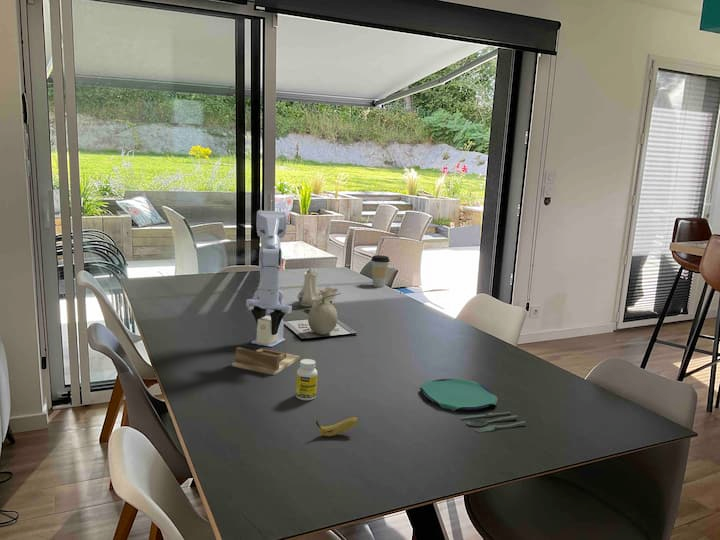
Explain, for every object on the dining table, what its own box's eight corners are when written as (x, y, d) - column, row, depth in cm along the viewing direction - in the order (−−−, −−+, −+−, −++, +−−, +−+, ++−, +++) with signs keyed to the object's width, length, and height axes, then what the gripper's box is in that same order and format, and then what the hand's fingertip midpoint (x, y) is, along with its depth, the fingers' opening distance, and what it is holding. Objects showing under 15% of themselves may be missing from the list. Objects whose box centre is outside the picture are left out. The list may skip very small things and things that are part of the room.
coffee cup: (367, 283, 302) (369, 254, 299) (384, 283, 305) (386, 255, 302) (372, 287, 293) (374, 258, 290) (390, 287, 296) (392, 258, 293)
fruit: (300, 334, 208) (302, 293, 205) (317, 327, 218) (319, 288, 215) (325, 340, 203) (327, 298, 201) (341, 333, 214) (344, 292, 211)
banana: (355, 430, 137) (356, 414, 136) (358, 435, 135) (359, 419, 134) (313, 434, 134) (314, 418, 133) (316, 439, 132) (317, 423, 131)
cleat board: (260, 351, 188) (261, 336, 187) (299, 359, 183) (300, 343, 182) (232, 366, 173) (232, 350, 172) (273, 375, 168) (274, 358, 167)
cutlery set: (470, 382, 173) (471, 374, 173) (533, 428, 146) (534, 419, 146) (409, 388, 166) (409, 380, 166) (463, 438, 139) (464, 429, 138)
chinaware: (332, 318, 239) (338, 278, 236) (291, 311, 238) (297, 271, 235) (336, 302, 266) (342, 266, 263) (299, 295, 266) (305, 260, 263)
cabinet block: (265, 337, 180) (266, 315, 179) (277, 339, 178) (278, 317, 177) (255, 342, 175) (256, 319, 173) (267, 345, 173) (268, 322, 172)
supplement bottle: (297, 401, 152) (299, 365, 150) (294, 393, 157) (295, 358, 155) (318, 400, 153) (320, 364, 151) (314, 392, 158) (315, 357, 156)
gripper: (240, 287, 173) (239, 332, 175) (284, 294, 168) (282, 340, 170) (253, 283, 179) (252, 326, 182) (295, 290, 174) (294, 334, 177)
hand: (267, 332), depth 177 cm, fingers closed on cabinet block, 4 cm apart
